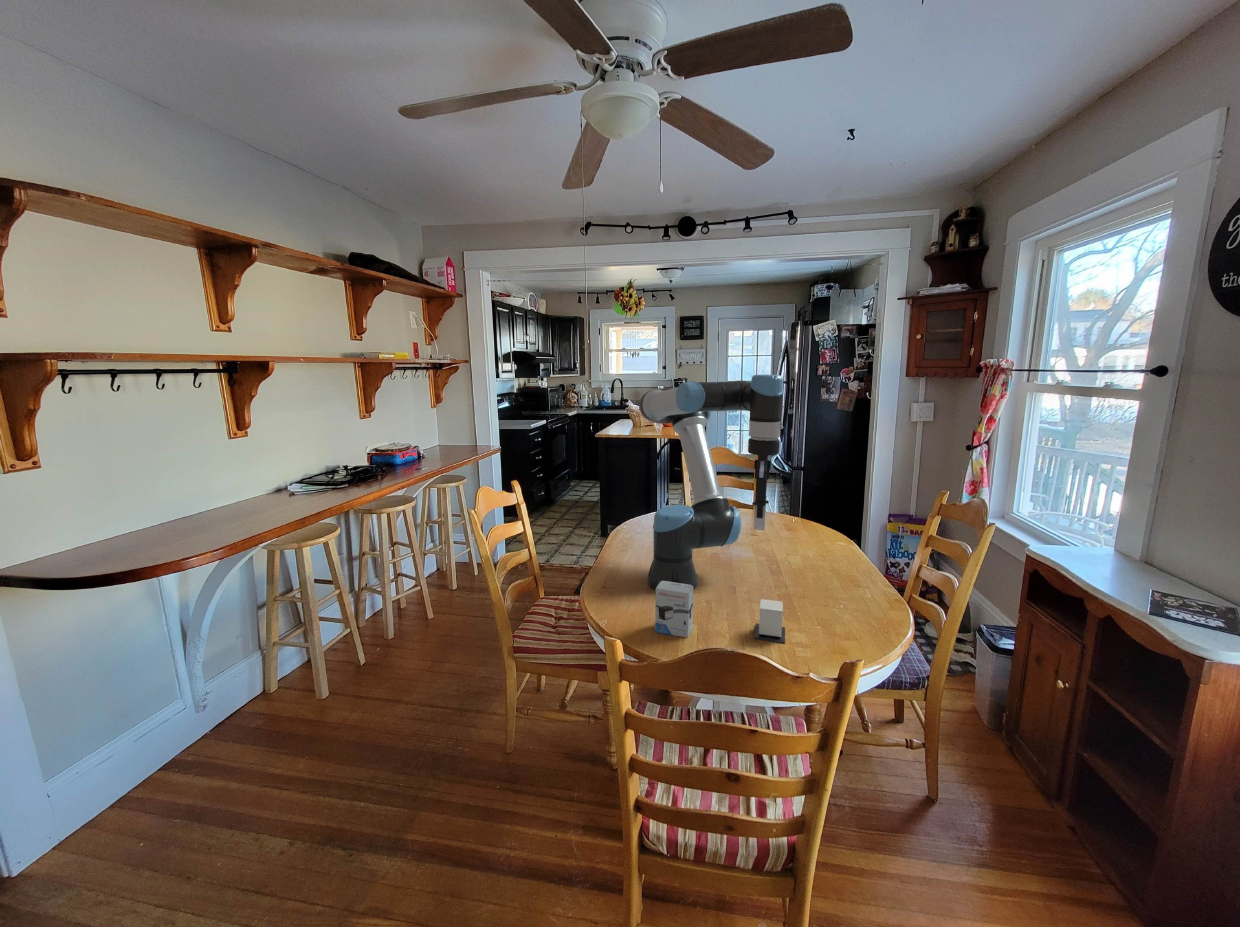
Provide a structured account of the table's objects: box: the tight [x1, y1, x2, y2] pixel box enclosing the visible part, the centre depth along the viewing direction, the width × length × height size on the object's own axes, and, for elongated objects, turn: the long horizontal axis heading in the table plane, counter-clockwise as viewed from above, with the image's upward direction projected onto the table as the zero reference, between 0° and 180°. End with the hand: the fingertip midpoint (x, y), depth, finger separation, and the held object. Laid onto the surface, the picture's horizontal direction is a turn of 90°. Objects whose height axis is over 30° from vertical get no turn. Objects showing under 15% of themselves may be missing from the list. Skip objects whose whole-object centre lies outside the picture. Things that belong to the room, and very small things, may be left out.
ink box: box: [654, 581, 694, 638], centre depth 125 cm, size 8×5×12 cm, turn 69°
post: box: [753, 622, 786, 644], centre depth 124 cm, size 7×7×7 cm
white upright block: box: [758, 598, 784, 637], centre depth 124 cm, size 5×5×7 cm
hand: (759, 528), depth 130 cm, fingers closed
